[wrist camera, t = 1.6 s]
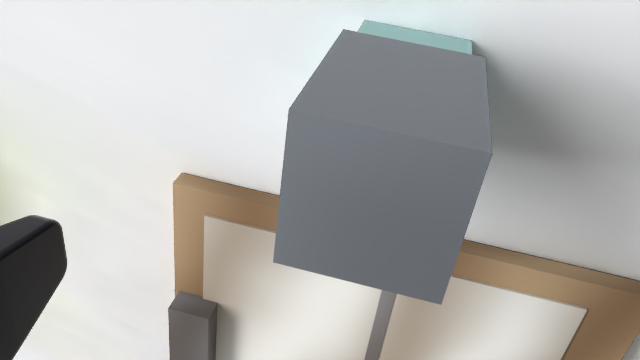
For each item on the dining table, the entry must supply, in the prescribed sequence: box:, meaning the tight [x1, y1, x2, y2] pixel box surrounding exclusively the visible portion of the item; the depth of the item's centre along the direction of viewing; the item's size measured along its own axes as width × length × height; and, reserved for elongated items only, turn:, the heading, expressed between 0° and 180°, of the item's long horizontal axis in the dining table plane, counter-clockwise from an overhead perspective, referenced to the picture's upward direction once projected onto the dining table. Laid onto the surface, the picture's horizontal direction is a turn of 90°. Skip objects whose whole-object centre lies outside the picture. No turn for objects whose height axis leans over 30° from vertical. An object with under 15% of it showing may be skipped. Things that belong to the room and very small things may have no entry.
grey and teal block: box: [273, 20, 492, 305], centre depth 13 cm, size 4×4×7 cm
